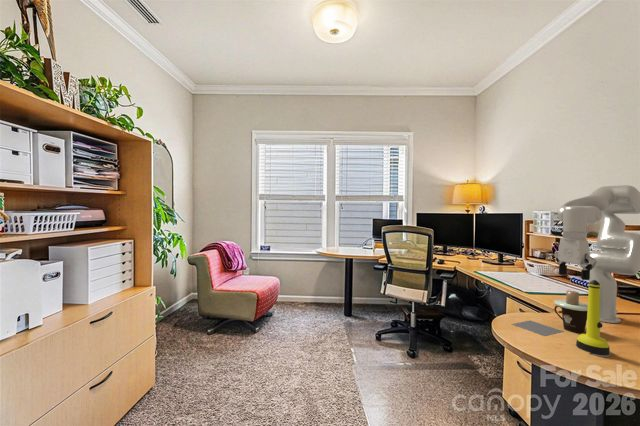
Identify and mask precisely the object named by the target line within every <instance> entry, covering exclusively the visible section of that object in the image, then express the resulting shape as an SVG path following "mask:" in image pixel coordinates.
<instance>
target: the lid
mask: <svg viewBox="0 0 640 426" xmlns="http://www.w3.org/2000/svg"><path fill="white" fill-rule="evenodd" d="M565 293H566V294H565V295H566V296H565V298H566V299H554V300H553V304H554V306H560V307H563V308H567V309H572V310H578V311H588V303H584V302H580V292H578V291H575V290H566V292H565ZM560 307H559V308H560Z"/></svg>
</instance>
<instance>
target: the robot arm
mask: <svg viewBox="0 0 640 426" xmlns="http://www.w3.org/2000/svg"><path fill="white" fill-rule="evenodd" d="M616 214H618V215H620V214H623V215H625V214H626V215H637V214H640V191H639V190H638V189H637V188H636V187H635V186H633V185H628V184H625V185H623V184H622V185H621V184H620V185H605V186H601V187H598V188H596V189H595V190H594V191H593V192H592V193H590V194H588V195H587V196H583V197H580V198H575V199H572V200H569V201H567V202H564V204H562V205H561V206H560V207H559V209H558V211H557V218H558V220H559V221H560V222H562V232H561V235H562V238H560V241H559V244H558V251H557V252H555V253H554V254H553V255H554V257H555V258H554V259H555V261H556V262H557V265H558V275H563V276H564V275H567V272H568V269H567V268H568V266H567V265H566V264H571V265H572V264H573V265H579V266H580V267H581V268H582V269H581V272H580V273H581V274H580V279H581V280H582V281H588V284H589V283H590V282H591V281H592V280H596V281H597V282H598V283H599V284H600V285H601V287H600V322H601V323H609V324H619V323H621V321H622V320H621V318H619V317H617V314H618V313H619V311H618V309H617V291H618V289H617V288H618V284H617V280H616V279H615V277H614V276H613V274H619V275H624V276H625V275H627V276H636V275H637V274H638V273H639V272H640V234H639V233H636V232H625V231H626V223H625V222H624V221H623V220H622V219H621V218H620V217H619V216H618V215H616ZM598 222H600V228H599V231H598V234H597V236H596V237H597V238H596V247H597V248H598V249H599V250H592V251H590V245H589V241H588V239H587V233H588V231H587V229H588V228H587V226H588V224H589V225H591V224H597V223H598Z"/></svg>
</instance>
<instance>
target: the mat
mask: <svg viewBox="0 0 640 426" xmlns="http://www.w3.org/2000/svg"><path fill="white" fill-rule="evenodd" d="M511 325H512V326H514V327H517V328H520V329H523V330H526V331H528V332H532V333H535V334H538V335H540V336H542V337H547V336H551V335H556V334H559V333H564V332H565V331H564V330H561V329H559V328H555V327H552V326H548V325H545V324H542V323H539V322H536V321H534V320H525V321H521V322H516V323H515V322H514V323H512V324H511Z"/></svg>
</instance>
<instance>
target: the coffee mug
mask: <svg viewBox="0 0 640 426" xmlns="http://www.w3.org/2000/svg"><path fill="white" fill-rule="evenodd" d="M558 308H560V309H561V315H560V314H559V312H558V311H557V309H558ZM554 312H555V314H556V315H557V316H558V318H560V319H561V320H562V323H563V330H565V331H567V332H569V333H575V334H579V335H580V334H585V331H586V328H587V312H588V311H578V310H572V309H567V308H563V307H560V306H557V305H554Z"/></svg>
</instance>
